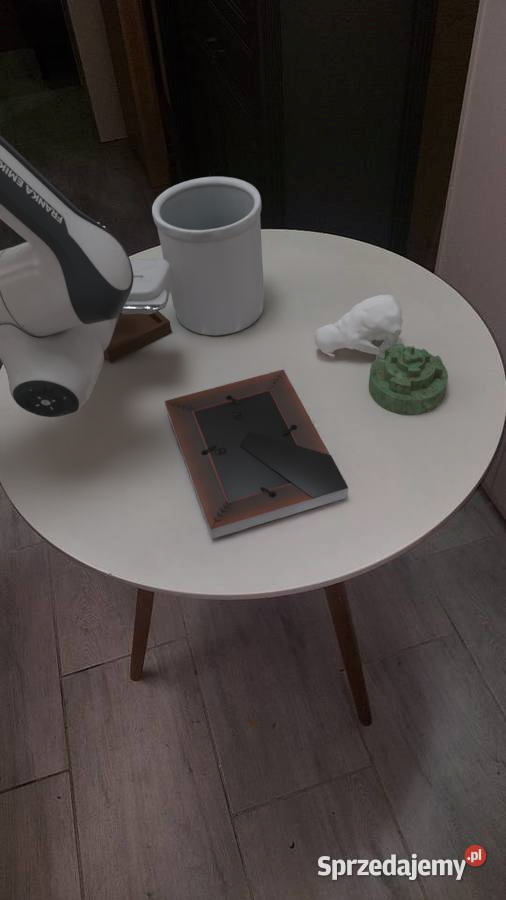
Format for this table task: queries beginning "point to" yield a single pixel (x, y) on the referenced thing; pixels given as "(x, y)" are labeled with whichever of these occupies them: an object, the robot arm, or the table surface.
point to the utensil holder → (213, 252)
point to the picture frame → (253, 453)
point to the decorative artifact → (407, 380)
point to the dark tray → (136, 333)
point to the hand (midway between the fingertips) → (106, 249)
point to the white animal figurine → (363, 327)
